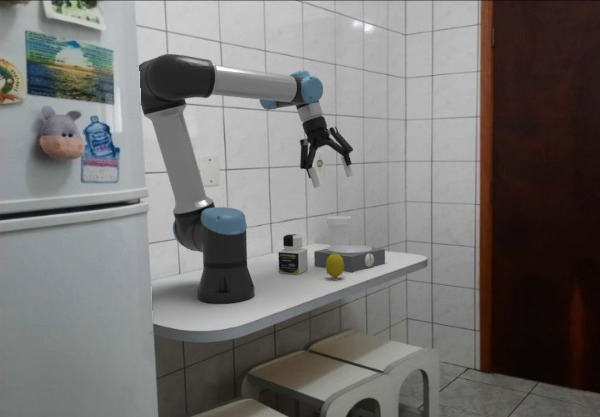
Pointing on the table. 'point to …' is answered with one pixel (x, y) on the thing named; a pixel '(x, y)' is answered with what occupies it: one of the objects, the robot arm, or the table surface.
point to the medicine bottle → (293, 255)
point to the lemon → (335, 265)
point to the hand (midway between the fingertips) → (333, 181)
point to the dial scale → (352, 256)
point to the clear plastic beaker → (339, 229)
